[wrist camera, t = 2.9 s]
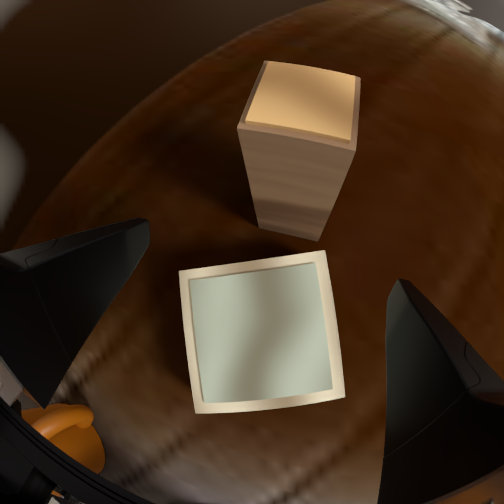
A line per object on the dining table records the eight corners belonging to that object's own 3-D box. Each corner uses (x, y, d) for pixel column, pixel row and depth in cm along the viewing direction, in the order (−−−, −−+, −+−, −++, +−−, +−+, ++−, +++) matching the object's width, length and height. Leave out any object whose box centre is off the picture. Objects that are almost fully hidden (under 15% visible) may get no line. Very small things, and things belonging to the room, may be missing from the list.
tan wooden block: (317, 241, 23) (356, 147, 10) (258, 228, 24) (236, 124, 11) (328, 188, 24) (361, 74, 11) (272, 176, 25) (264, 57, 12)
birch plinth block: (209, 399, 21) (194, 414, 16) (195, 279, 23) (177, 270, 19) (334, 385, 20) (345, 397, 16) (317, 262, 23) (325, 249, 18)
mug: (141, 452, 20) (88, 492, 11) (79, 482, 19) (31, 509, 10) (86, 374, 22) (19, 384, 13) (35, 417, 21) (-19, 429, 12)
